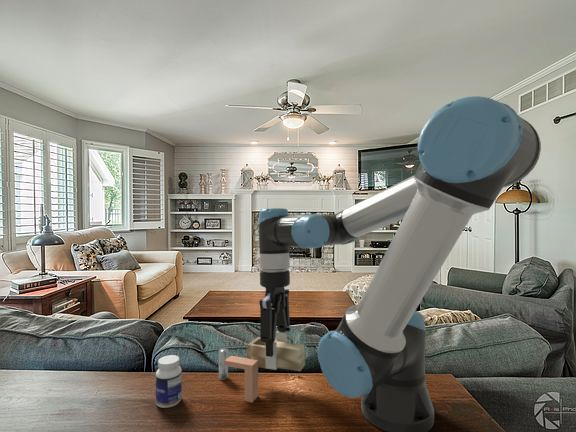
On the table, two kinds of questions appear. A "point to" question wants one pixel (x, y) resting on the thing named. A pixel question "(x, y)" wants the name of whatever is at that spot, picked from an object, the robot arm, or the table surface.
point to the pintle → (223, 369)
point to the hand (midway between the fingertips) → (276, 362)
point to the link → (278, 354)
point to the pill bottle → (168, 382)
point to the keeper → (246, 374)
